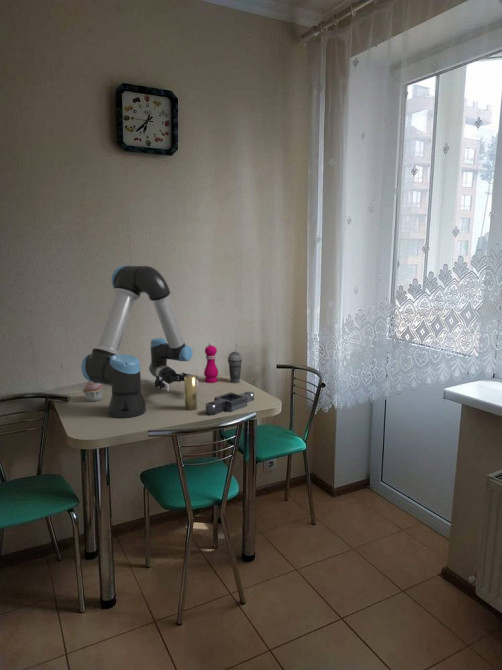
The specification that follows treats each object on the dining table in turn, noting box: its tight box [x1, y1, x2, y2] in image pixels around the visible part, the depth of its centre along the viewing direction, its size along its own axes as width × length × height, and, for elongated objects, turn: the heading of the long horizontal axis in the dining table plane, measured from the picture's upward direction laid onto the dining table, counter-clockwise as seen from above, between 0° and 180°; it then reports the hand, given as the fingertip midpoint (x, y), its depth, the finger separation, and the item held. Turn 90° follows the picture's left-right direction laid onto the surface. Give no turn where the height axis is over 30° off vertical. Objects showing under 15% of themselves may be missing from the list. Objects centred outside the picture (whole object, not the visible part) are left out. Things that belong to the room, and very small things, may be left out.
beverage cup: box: [227, 342, 243, 384], centre depth 244 cm, size 7×7×20 cm
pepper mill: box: [203, 342, 219, 384], centre depth 245 cm, size 7×7×20 cm
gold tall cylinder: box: [183, 374, 198, 411], centre depth 205 cm, size 5×5×14 cm
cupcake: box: [82, 380, 105, 403], centre depth 217 cm, size 9×9×10 cm
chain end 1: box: [205, 392, 248, 416], centre depth 205 cm, size 19×10×4 cm, turn 139°
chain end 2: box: [226, 391, 255, 412], centre depth 212 cm, size 19×10×3 cm, turn 139°
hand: (183, 385), depth 213 cm, fingers open, 13 cm apart
